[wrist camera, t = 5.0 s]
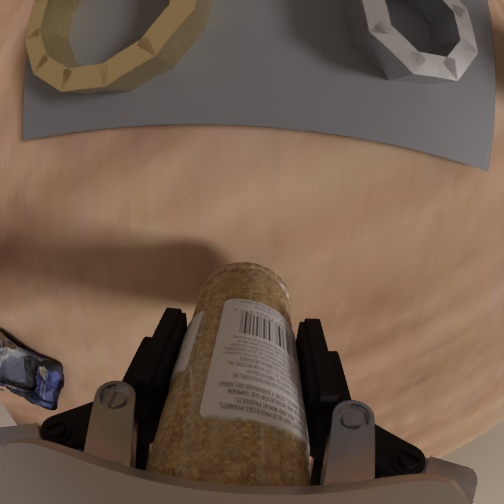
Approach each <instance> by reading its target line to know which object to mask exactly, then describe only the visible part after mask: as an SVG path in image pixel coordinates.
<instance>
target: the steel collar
mask: <svg viewBox="0 0 504 504" xmlns="http://www.w3.org/2000/svg"><path fill="white" fill-rule="evenodd" d="M393 1H398V2H404V3H406V4H408V5H409V6H410V7H411V8H412V9H413V10H414V11H415V12H416V13H417V14H418V15H419V16H420V17H421V18H422V19H423V20H424V21H425V22H426V23H427V25H428V29H429V33H430V38H431V43H432V48H433V49H432V50H431V51H430V52H429V53H423V52H418V51H417V50H416V49H415V48H414V47H413V45H412V44H411V43H410V42H409V41H407V40H406V39H405V38H404V37H403V36H402V35H401V34H400V33H399V32H398V31H397V30H396V29H395V28H394V27H393V26H392V25H391V22H390V17H389V13H388V9H387V5H386V2H385V0H345V1H344V2H343V4H342V6H343V10H344V15H345V19H346V24H347V29H348V34H349V39H350V45H351V47H352V48H353V49H355V50H356V51H357V52H358V53H359V54H360V55H362V56H363V57H364V58H365V59H366V60H367V61H368V62H369V63H371V64H372V65H373V66H374V67H375V68H376V69H377V70H378V71H379V72H380V73H381V74H382V75H383V76H384V77H385V78H386V79H387V80H388V81H402V82H412V83H421V84H429V85H430V84H437V83H445V82H454V81H458V80H459V79H460V77H461V76H462V75H463V73H464V72H465V71H466V69H467V68H468V66H469V65H470V64H471V62H472V61H473V60H474V58H475V57H476V55H477V54H478V50H477V45H476V41H475V36H474V32H473V28H472V24H471V20H470V17H469V13H468V10H467V8H466V7H465V6H464V5H463V4H462V3H461V2H460V1H459V0H393Z"/></svg>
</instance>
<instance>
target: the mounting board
mask: <svg viewBox="0 0 504 504" xmlns="http://www.w3.org/2000/svg"><path fill="white" fill-rule="evenodd" d="M344 1H345V0H212V1H211V6H210V11H209V16H208V21H207V26H206V29H205V30H204V31H203V32H202V34H201V35H200V36H199V37H198V38H197V39H196V41H195V42H194V43H193V44H192V45H191V47H190V48H189V49H188V50H187V52H186V53H185V54H184V55H183V57H182V58H181V59H180V60H179V62H178V63H177V64H176V66H175V67H173V68H171V69H169V70H168V71H166V72H164V73H162V74H160V75H158V76H156V77H154V78H153V79H151V80H149V81H147V82H146V83H144V84H142V85H140V86H139V87H137V88H135V89H134V90H132V91H121V92H105V93H93V94H87V93H72V92H61V91H59V90H58V89H56V88H55V87H53V86H52V85H50V84H49V83H47V82H45V81H44V80H42V79H41V78H39V77H38V76H36V75H35V74H33V71H32V67H31V63H30V59H29V56H28V55H27V62H26V71H25V82H24V96H23V141H26V140H31V139H36V138H42V137H47V136H53V135H59V134H66V133H73V132H80V131H88V130H96V129H106V128H117V127H129V126H145V125H171V124H219V125H245V126H261V127H274V128H286V129H296V130H305V131H313V132H321V133H328V134H335V135H342V136H348V137H354V138H360V139H365V140H371V141H376V142H381V143H386V144H391V145H396V146H400V147H405V148H409V149H413V150H417V151H421V152H425V153H429V154H433V155H437V156H440V157H444V158H447V159H451V160H454V161H458V162H461V163H464V164H467V165H470V166H474V167H477V168H480V169H483V170H485V171H488V170H489V163H490V156H491V149H492V140H493V129H494V116H495V56H494V43H493V33H492V25H491V18H490V12H489V6H488V1H487V0H459V1H460V2H461V3H462V4H463V5H464V6H465V7H466V8H467V10H468V13H469V17H470V20H471V24H472V28H473V32H474V36H475V41H476V45H477V50H478V54H477V55H476V57H475V58H474V60H473V61H472V62H471V64H470V65H469V66H468V68H467V69H466V71H465V72H464V73H463V75H462V76H461V77H460V79H459V80H458V81H454V82H445V83H437V84H430V85H429V84H421V83H412V82H402V81H388V80H387V79H386V78H385V77H384V76H383V75H382V74H381V73H380V72H379V71H378V70H377V69H376V68H375V67H374V66H373V65H372V64H371V63H369V62H368V61H367V60H366V59H365V58H364V57H363V56H362V55H360V54H359V53H358V52H357V51H356V50H355V49H353V48H352V47H351V45H350V39H349V34H348V29H347V24H346V19H345V15H344V10H343V6H342V4H343V2H344ZM385 2H386V5H387V9H388V13H389V17H390V22H391V25H392V26H393V27H394V28H395V29H396V30H397V31H398V32H399V33H400V34H401V35H402V36H403V37H404V38H405V39H406V40H407V41H409V42H410V43H411V44H412V45H413V47H414V48H415V49H416V50H417V51H418V52H423V53H429V52H430V51H431V50H432V49H433V48H432V43H431V38H430V33H429V29H428V25H427V23H426V22H425V21H424V20H423V19H422V18H421V17H420V16H419V15H418V14H417V13H416V12H415V11H414V10H413V9H412V8H411V7H410V6H409V5H408V4H406V3H404V2H398V1H393V0H385ZM169 3H170V0H82V2H81V3H80V4H79V6H78V7H77V8H76V10H75V12H74V16H73V20H72V24H71V29H70V33H69V38H68V39H69V42H70V45H71V48H72V51H73V54H74V57H75V60H76V62H78V63H80V64H81V65H83V66H88V65H95V64H102V63H104V62H106V61H107V60H109V59H110V58H112V57H113V56H115V55H116V54H118V53H119V52H121V51H122V50H124V49H126V48H127V47H129V46H131V45H132V44H134V43H136V42H137V41H139V40H141V38H142V37H143V36H144V34H145V33H146V32H147V31H148V29H149V28H150V27H151V26H152V24H153V23H154V22H155V21H156V19H157V18H158V17H159V16H160V15H161V13H162V12H163V11H164V10H165V9H166V8H167V7H168V5H169Z"/></svg>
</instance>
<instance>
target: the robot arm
mask: <svg viewBox="0 0 504 504" xmlns="http://www.w3.org/2000/svg"><path fill="white" fill-rule="evenodd" d="M186 330H187V319H186V313H182V311H181V309H176V308H166V310H165V312H164V314H163V316H162V318H161V320H160V322H159V324H158V326H157V328H156V330H155V332H154V334H153V336H152V337H144V339H143V340H142V342H141V344H140V346H139V348H138V350H137V352H136V354H135V356H134V358H133V360H132V362H131V364H130V366H129V368H128V370H127V372H126V374H125V376H124V378H123V380H122V381H111V382H107V383H105V384H103V385H102V386H100V388H99V389H98V390H97V392H96V394H95V398H94V401H93V402H90V403H88V404H85V405H82V406H80V407H77V408H74V409H71V410H68V411H66V412H63V413H60V414H57V415H54V416H51V417H49V418H47V419H46V420H45V421H44V422H43V424H42V425H38V423H33V424H26V425H18V426H11V427H0V504H472V502H473V498H474V494H475V490H476V486H477V476H476V473H475V472H474V471H473V469H471V468H469V467H466V466H462V465H458V464H455V463H451V462H448V461H444V460H441V459H438V458H435V457H430V458H429V459H428V458H425V456H424V454H423V453H422V451H421V450H420V449H418V448H417V447H415V446H413V445H412V444H410V443H408V442H406V441H404V440H402V439H400V438H399V437H397V436H395V435H393V434H391V433H390V432H388V431H386V430H384V429H382V428H381V427H379V426H377V425H376V424H375V418H374V413H373V412H372V410H371V408H370V407H368V406H367V405H366V404H364V403H362V402H360V401H355V400H351V397H350V393H349V389H348V386H347V382H346V378H345V375H344V371H343V368H342V364H341V361H340V357H339V354H338V352H337V351H328V348H327V345H326V341H325V337H324V333H323V329H322V326H321V322H320V319H305V321H304V322H300V323H299V328H298V333H297V339H296V346H297V353H298V360H299V366H300V373H301V381H302V389H303V397H304V405H305V413H306V421H307V430H308V438H309V447H310V456H311V457H312V460H311V464H309V471H310V486H246V485H232V484H221V483H212V482H204V481H197V480H190V479H184V478H178V477H173V476H167V475H162V474H158V473H153V472H149V471H145V469H146V466H147V462H148V457H149V455H150V452H151V448H152V445H153V444H152V443H153V442H154V439H155V436H156V431H157V429H158V425H159V421H160V418H161V415H162V411H163V408H164V404H165V401H166V398H167V395H168V391H169V383H170V379H171V375H172V372H173V369H174V366H175V363H176V360H177V357H178V354H179V351H180V347H181V344H182V341H183V338H184V335H185V333H186Z"/></svg>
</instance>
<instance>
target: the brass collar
mask: <svg viewBox="0 0 504 504" xmlns="http://www.w3.org/2000/svg"><path fill="white" fill-rule="evenodd" d="M211 1H212V0H170V3H169V5H168V7H167V8H166V9H165V10H164V11H163V12H162V13H161V15H160V16H159V17H158V18H157V19H156V21H155V22H154V23H153V24H152V26H151V27H150V28H149V29H148V31H147V32H146V33H145V34H144V36H143V37H142V38H141V40H139V41H137V42H136V43H134V44H132V45H131V46H129V47H127V48H126V49H124V50H122V51H121V52H119V53H118V54H116V55H115V56H113V57H112V58H110V59H109V60H107V61H106V62H104V63H102V64H95V65H88V66H83V65H81V64H80V63H78V62H76V60H75V57H74V54H73V51H72V48H71V45H70V42H69V39H68V38H69V33H70V29H71V24H72V20H73V16H74V12H75V10H76V8H77V7H78V6H79V4H80V3H81V2H82V0H36V1H35V4H34V7H33V10H32V14H31V17H30V21H29V25H28V29H27V33H26V37H25V43H26V48H27V52H28V56H29V59H30V63H31V67H32V71H33V74H35V75H36V76H38V77H39V78H41V79H42V80H44V81H45V82H47V83H49V84H50V85H52V86H53V87H55V88H56V89H58V90H59V91H61V92H72V93H87V94H93V93H105V92H121V91H132V90H134V89H135V88H137V87H139V86H140V85H142V84H144V83H146V82H147V81H149V80H151V79H153V78H154V77H156V76H158V75H160V74H162V73H164V72H166V71H168V70H169V69H171V68H173V67H175V66H176V64H177V63H178V62H179V60H180V59H181V58H182V57H183V55H184V54H185V53H186V52H187V50H188V49H189V48H190V47H191V45H192V44H193V43H194V42H195V41H196V39H197V38H198V37H199V36H200V35H201V34H202V32H203V31H204V30H205V29H206V26H207V21H208V16H209V11H210V6H211Z"/></svg>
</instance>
